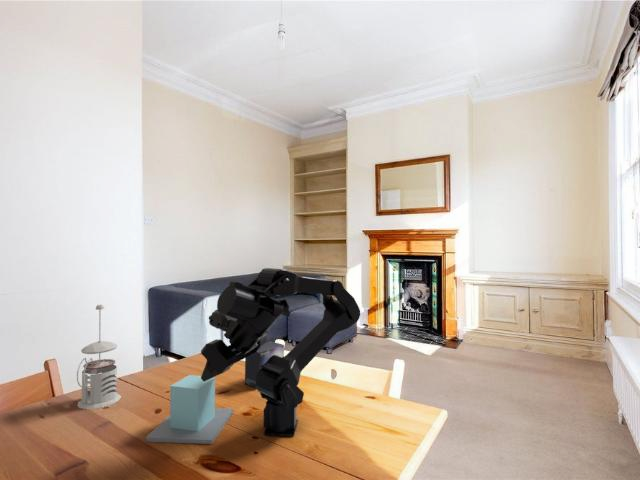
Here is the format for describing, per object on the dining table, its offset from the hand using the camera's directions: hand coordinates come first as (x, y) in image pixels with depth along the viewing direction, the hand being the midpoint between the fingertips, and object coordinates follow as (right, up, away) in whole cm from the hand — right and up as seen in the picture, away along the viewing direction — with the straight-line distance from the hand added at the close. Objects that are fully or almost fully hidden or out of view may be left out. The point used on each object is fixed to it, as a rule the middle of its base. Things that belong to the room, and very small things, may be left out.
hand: (215, 372), depth 80 cm
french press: (-34, -13, +13) cm, 39 cm away
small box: (+7, -13, +27) cm, 31 cm away
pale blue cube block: (-5, -11, +1) cm, 13 cm away
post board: (-5, -12, +1) cm, 13 cm away
